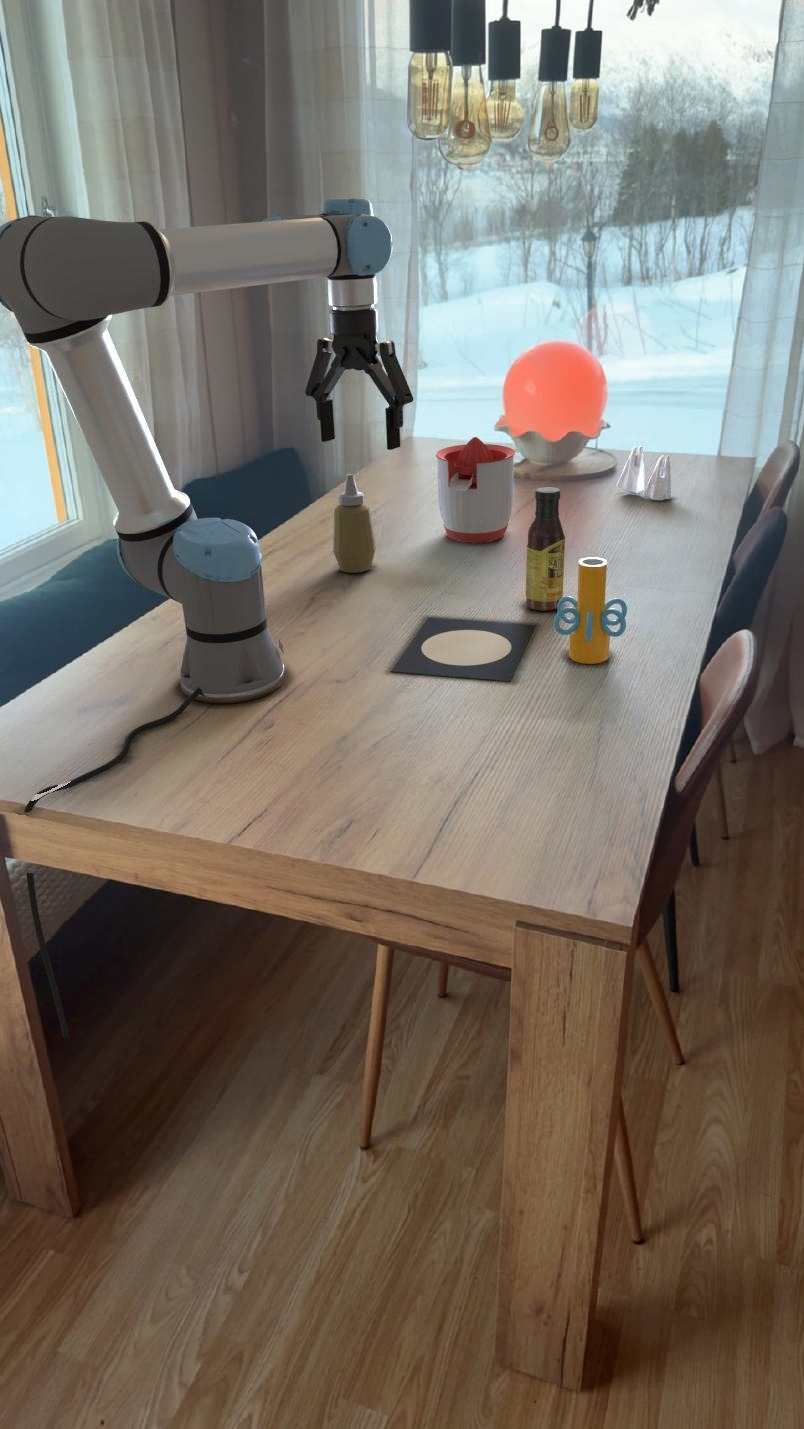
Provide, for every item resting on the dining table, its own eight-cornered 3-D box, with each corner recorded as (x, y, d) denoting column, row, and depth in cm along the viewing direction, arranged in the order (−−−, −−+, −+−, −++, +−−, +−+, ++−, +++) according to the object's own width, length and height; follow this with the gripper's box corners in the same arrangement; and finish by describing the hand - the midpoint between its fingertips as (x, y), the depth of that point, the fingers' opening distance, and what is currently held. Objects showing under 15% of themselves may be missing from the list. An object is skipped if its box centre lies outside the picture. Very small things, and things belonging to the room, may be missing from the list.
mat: (510, 681, 153) (510, 681, 153) (391, 671, 157) (391, 671, 157) (535, 625, 171) (535, 624, 171) (428, 618, 176) (428, 617, 176)
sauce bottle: (552, 615, 175) (556, 497, 166) (519, 609, 178) (520, 493, 169) (569, 602, 180) (573, 487, 171) (535, 596, 183) (538, 483, 174)
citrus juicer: (422, 546, 211) (419, 445, 202) (454, 521, 225) (452, 426, 216) (496, 553, 205) (496, 450, 196) (524, 528, 219) (525, 430, 210)
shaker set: (614, 495, 239) (617, 446, 234) (623, 491, 242) (626, 442, 237) (663, 502, 232) (666, 452, 227) (672, 498, 235) (675, 448, 230)
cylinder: (623, 675, 153) (629, 577, 146) (551, 672, 155) (553, 575, 148) (624, 642, 164) (630, 549, 157) (557, 639, 166) (559, 547, 159)
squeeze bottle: (385, 567, 200) (381, 473, 192) (355, 578, 195) (349, 482, 187) (355, 559, 205) (350, 467, 197) (325, 570, 200) (318, 475, 192)
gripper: (432, 307, 161) (435, 446, 171) (307, 303, 174) (316, 432, 184) (404, 312, 156) (409, 456, 165) (277, 307, 169) (288, 441, 179)
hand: (360, 444), depth 175 cm, fingers open, 13 cm apart
